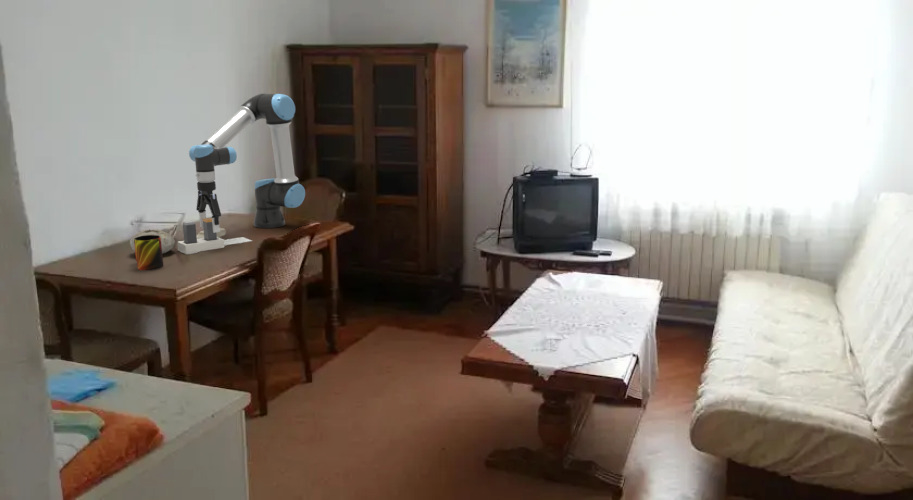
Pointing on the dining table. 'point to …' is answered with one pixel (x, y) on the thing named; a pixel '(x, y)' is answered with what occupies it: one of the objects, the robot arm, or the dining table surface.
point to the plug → (208, 230)
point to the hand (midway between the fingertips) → (209, 229)
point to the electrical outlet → (219, 234)
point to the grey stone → (166, 238)
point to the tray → (236, 240)
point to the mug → (148, 252)
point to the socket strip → (200, 245)
